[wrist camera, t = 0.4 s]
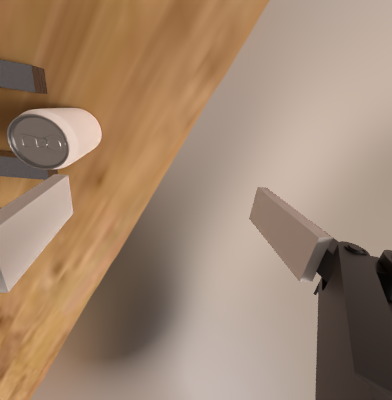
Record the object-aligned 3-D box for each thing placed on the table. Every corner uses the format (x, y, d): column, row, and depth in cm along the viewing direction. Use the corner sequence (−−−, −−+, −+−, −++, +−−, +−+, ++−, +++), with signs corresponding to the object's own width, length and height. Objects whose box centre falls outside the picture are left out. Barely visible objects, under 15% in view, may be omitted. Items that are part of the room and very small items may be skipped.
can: (103, 153, 33) (76, 175, 23) (60, 149, 32) (10, 171, 21) (101, 110, 31) (69, 113, 20) (53, 104, 30) (-7, 104, 19)
